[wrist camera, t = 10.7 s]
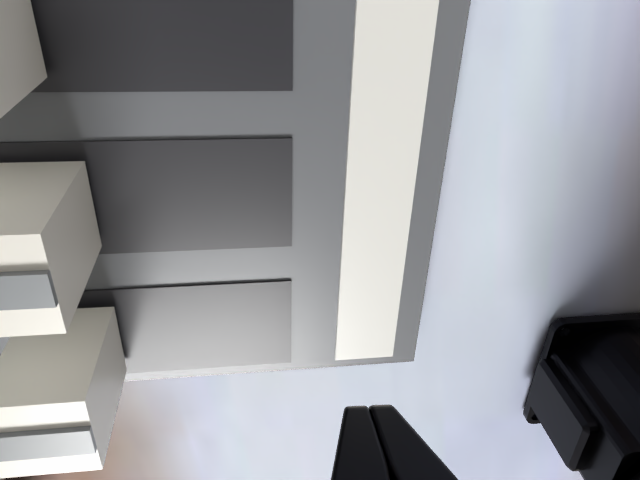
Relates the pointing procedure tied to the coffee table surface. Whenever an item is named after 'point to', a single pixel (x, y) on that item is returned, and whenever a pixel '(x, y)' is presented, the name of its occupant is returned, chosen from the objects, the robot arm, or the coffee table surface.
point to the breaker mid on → (44, 245)
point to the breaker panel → (251, 171)
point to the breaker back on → (61, 396)
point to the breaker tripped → (18, 53)
